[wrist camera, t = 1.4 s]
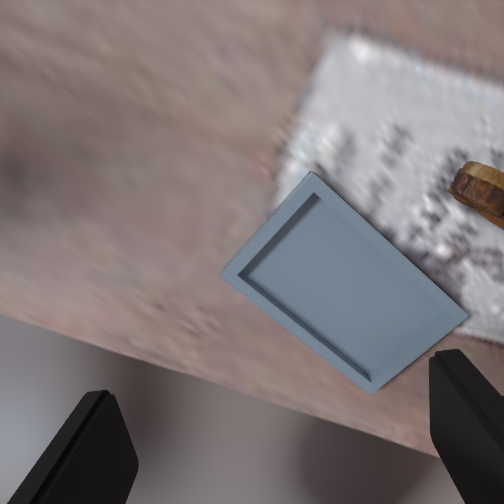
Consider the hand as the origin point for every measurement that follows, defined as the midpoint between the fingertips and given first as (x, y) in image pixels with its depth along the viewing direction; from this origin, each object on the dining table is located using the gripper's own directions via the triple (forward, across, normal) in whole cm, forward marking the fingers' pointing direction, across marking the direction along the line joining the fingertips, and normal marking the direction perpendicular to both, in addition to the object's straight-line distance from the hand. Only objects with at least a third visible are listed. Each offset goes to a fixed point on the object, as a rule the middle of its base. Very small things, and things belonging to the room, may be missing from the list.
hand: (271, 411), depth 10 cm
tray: (+25, -6, +8) cm, 27 cm away
